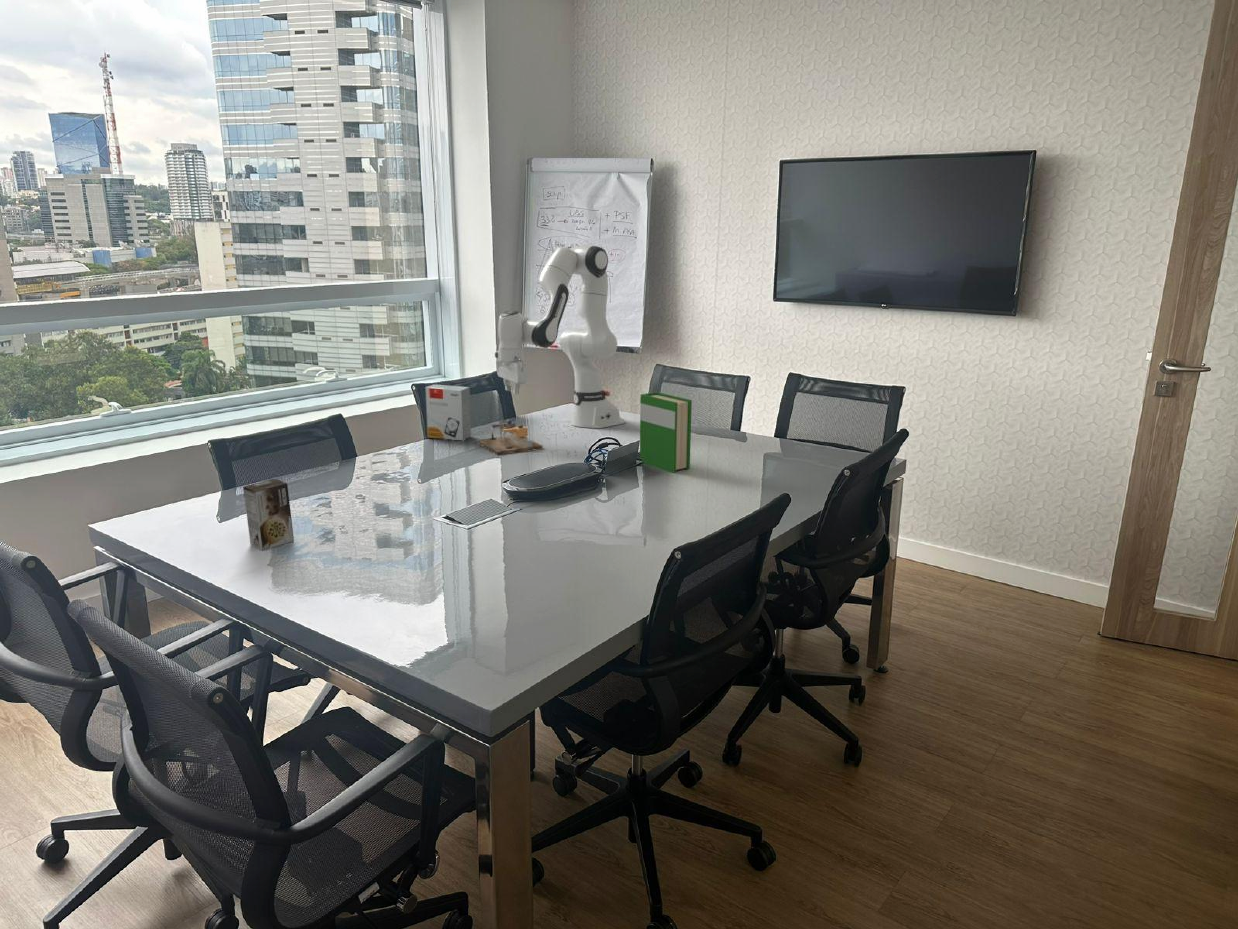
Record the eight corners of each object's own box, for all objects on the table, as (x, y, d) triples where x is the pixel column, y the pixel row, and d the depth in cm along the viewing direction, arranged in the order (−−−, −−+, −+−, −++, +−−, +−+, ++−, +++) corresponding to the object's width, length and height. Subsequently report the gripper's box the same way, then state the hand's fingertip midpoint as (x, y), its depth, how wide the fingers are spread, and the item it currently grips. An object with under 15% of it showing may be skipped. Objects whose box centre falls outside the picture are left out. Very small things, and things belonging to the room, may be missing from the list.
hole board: (520, 437, 336) (520, 434, 336) (542, 448, 320) (542, 445, 319) (476, 442, 327) (476, 439, 327) (497, 455, 311) (496, 451, 310)
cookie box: (281, 535, 231) (275, 477, 226) (294, 541, 227) (288, 482, 222) (249, 545, 224) (242, 485, 220) (262, 551, 220) (255, 490, 216)
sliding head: (523, 439, 326) (523, 423, 324) (527, 441, 323) (527, 425, 321) (500, 442, 321) (500, 426, 319) (504, 444, 318) (503, 428, 316)
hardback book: (689, 469, 294) (691, 400, 288) (673, 473, 290) (675, 402, 283) (655, 458, 308) (656, 391, 301) (639, 461, 303) (640, 394, 297)
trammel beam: (513, 435, 334) (512, 419, 332) (534, 446, 318) (533, 429, 316) (490, 438, 330) (489, 421, 328) (510, 449, 314) (510, 432, 312)
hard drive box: (426, 438, 334) (423, 387, 328) (436, 433, 341) (433, 384, 336) (463, 441, 330) (460, 389, 324) (472, 436, 337) (470, 386, 331)
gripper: (530, 358, 313) (531, 396, 317) (508, 351, 330) (509, 386, 334) (514, 359, 310) (515, 397, 314) (492, 352, 327) (493, 388, 331)
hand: (512, 392), depth 324 cm, fingers open, 6 cm apart
